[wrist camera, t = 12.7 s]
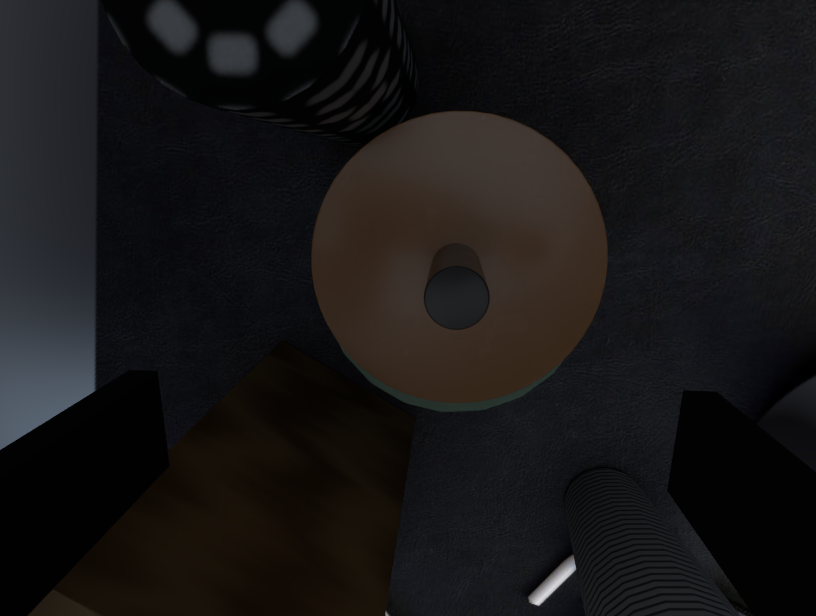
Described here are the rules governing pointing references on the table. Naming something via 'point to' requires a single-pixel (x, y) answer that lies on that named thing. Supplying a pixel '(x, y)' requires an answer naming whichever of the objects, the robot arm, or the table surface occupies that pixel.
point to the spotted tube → (280, 60)
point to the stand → (260, 508)
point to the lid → (459, 256)
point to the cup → (633, 553)
